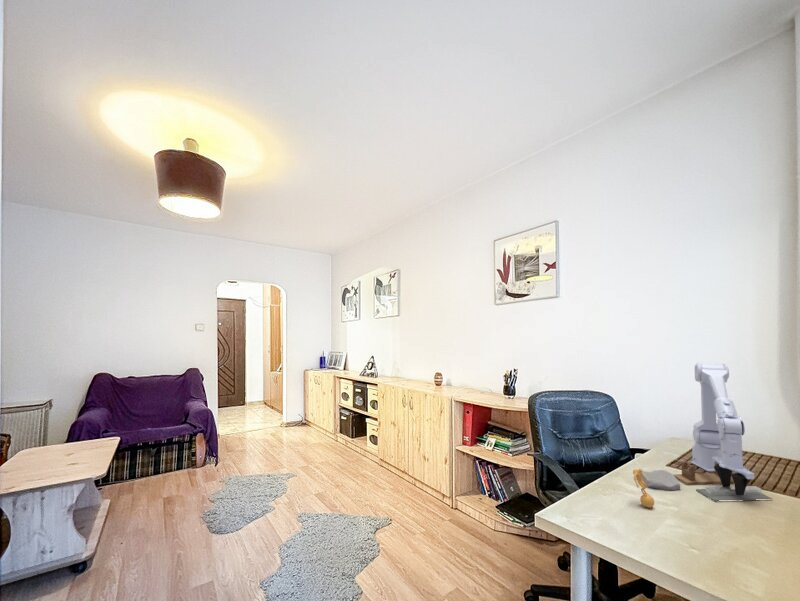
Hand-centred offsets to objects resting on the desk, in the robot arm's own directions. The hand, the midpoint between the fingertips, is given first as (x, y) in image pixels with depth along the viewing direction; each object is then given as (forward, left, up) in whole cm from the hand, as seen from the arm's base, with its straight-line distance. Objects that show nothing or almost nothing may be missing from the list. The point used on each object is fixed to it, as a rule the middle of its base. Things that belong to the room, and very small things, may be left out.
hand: (732, 491), depth 136 cm
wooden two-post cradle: (-12, 0, -2) cm, 12 cm away
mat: (0, 0, -2) cm, 2 cm away
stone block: (-9, -20, -2) cm, 22 cm away
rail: (0, 0, -1) cm, 1 cm away
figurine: (+5, -35, -2) cm, 35 cm away
